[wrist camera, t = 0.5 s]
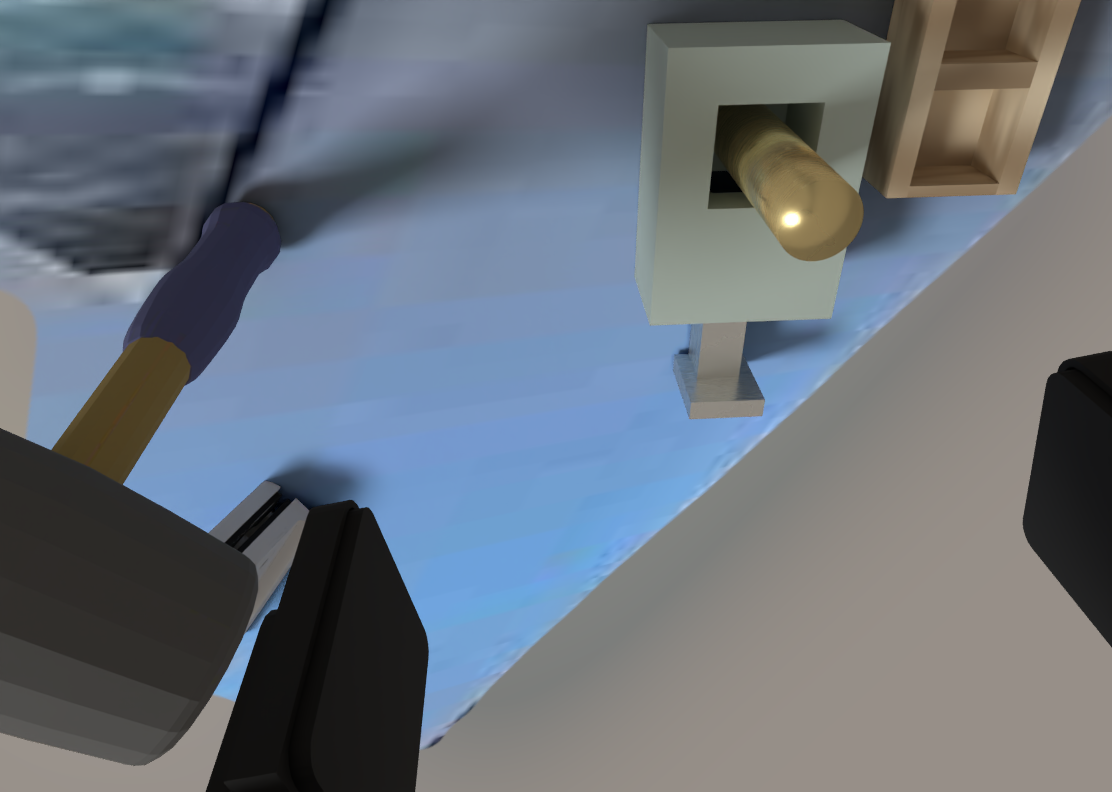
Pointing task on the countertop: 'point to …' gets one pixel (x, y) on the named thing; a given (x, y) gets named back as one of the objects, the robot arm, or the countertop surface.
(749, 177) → the gold cylindrical peg
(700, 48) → the socket block
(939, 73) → the rack
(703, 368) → the t-shaped push slider
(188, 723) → the rubber mallet
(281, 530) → the grey rounded block
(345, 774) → the robot arm
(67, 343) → the countertop surface
